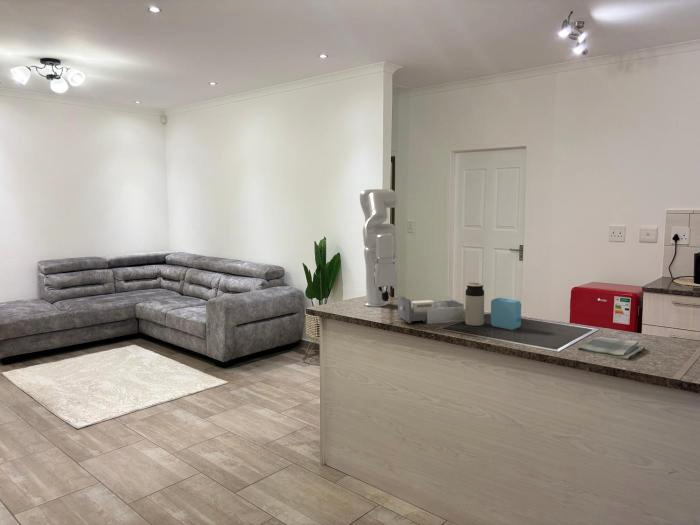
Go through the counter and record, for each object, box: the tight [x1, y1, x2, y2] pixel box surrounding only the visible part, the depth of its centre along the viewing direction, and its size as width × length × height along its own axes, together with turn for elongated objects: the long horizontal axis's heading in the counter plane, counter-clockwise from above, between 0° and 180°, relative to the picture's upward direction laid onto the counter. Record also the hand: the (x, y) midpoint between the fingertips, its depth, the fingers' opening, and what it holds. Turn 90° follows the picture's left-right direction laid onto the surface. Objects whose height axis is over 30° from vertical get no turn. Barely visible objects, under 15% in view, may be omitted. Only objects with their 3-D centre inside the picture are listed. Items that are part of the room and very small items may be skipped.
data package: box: [490, 297, 522, 331], centre depth 229 cm, size 12×4×12 cm, turn 43°
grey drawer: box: [397, 294, 437, 324], centre depth 244 cm, size 15×18×10 cm
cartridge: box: [411, 299, 435, 313], centre depth 245 cm, size 5×10×6 cm, turn 103°
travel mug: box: [464, 281, 485, 327], centre depth 235 cm, size 8×8×18 cm
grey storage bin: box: [422, 296, 465, 325], centre depth 247 cm, size 16×18×8 cm
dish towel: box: [577, 336, 646, 361], centre depth 195 cm, size 19×18×3 cm
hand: (385, 300), depth 245 cm, fingers closed
